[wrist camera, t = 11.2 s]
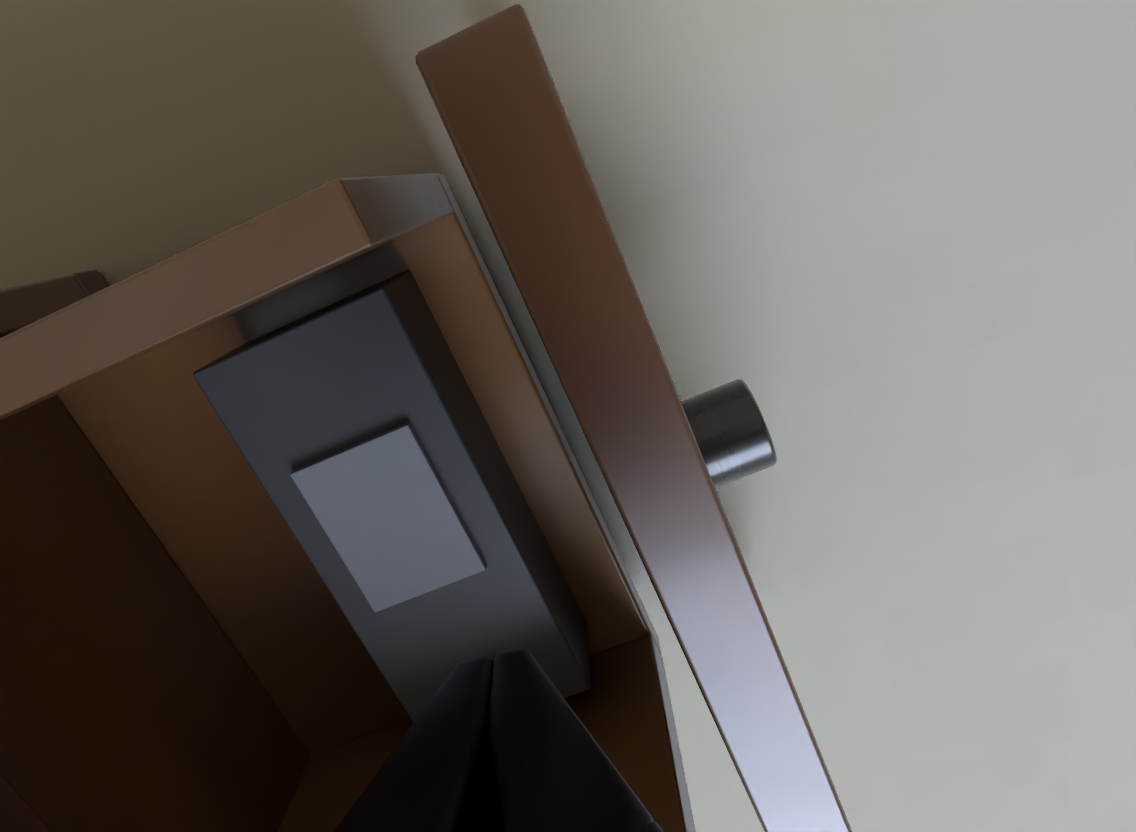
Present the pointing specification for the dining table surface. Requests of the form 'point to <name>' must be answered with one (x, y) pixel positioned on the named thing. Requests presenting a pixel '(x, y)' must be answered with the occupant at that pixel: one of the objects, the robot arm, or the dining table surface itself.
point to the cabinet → (3, 818)
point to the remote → (399, 491)
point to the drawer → (275, 558)
